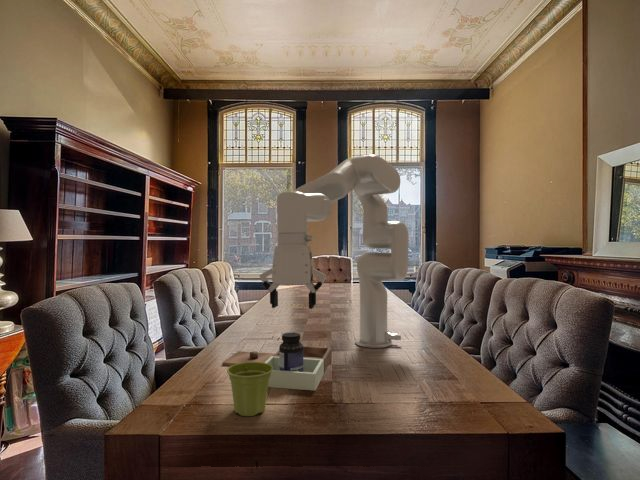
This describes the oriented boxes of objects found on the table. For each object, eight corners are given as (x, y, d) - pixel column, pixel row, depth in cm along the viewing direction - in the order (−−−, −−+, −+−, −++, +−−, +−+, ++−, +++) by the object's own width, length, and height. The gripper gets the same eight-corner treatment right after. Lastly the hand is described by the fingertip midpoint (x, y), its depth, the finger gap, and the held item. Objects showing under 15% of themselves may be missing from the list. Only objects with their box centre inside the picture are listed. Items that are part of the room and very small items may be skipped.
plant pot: (230, 401, 82) (230, 361, 82) (273, 400, 83) (273, 360, 83) (222, 421, 73) (223, 376, 73) (271, 420, 73) (272, 375, 74)
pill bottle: (306, 375, 97) (306, 332, 98) (298, 383, 92) (298, 337, 92) (284, 372, 99) (284, 331, 100) (275, 380, 93) (275, 336, 94)
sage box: (323, 374, 100) (323, 359, 100) (315, 390, 88) (315, 373, 88) (271, 370, 102) (271, 356, 102) (256, 386, 91) (256, 370, 91)
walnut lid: (283, 356, 115) (283, 348, 115) (271, 368, 104) (271, 359, 104) (238, 353, 118) (238, 346, 118) (222, 365, 107) (222, 356, 107)
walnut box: (331, 359, 113) (331, 347, 113) (324, 372, 101) (324, 358, 101) (284, 356, 115) (284, 345, 115) (272, 368, 104) (272, 356, 104)
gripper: (328, 240, 98) (328, 305, 98) (264, 240, 101) (265, 304, 101) (323, 240, 91) (323, 311, 91) (254, 241, 94) (255, 309, 94)
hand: (293, 307), depth 96 cm, fingers open, 9 cm apart
